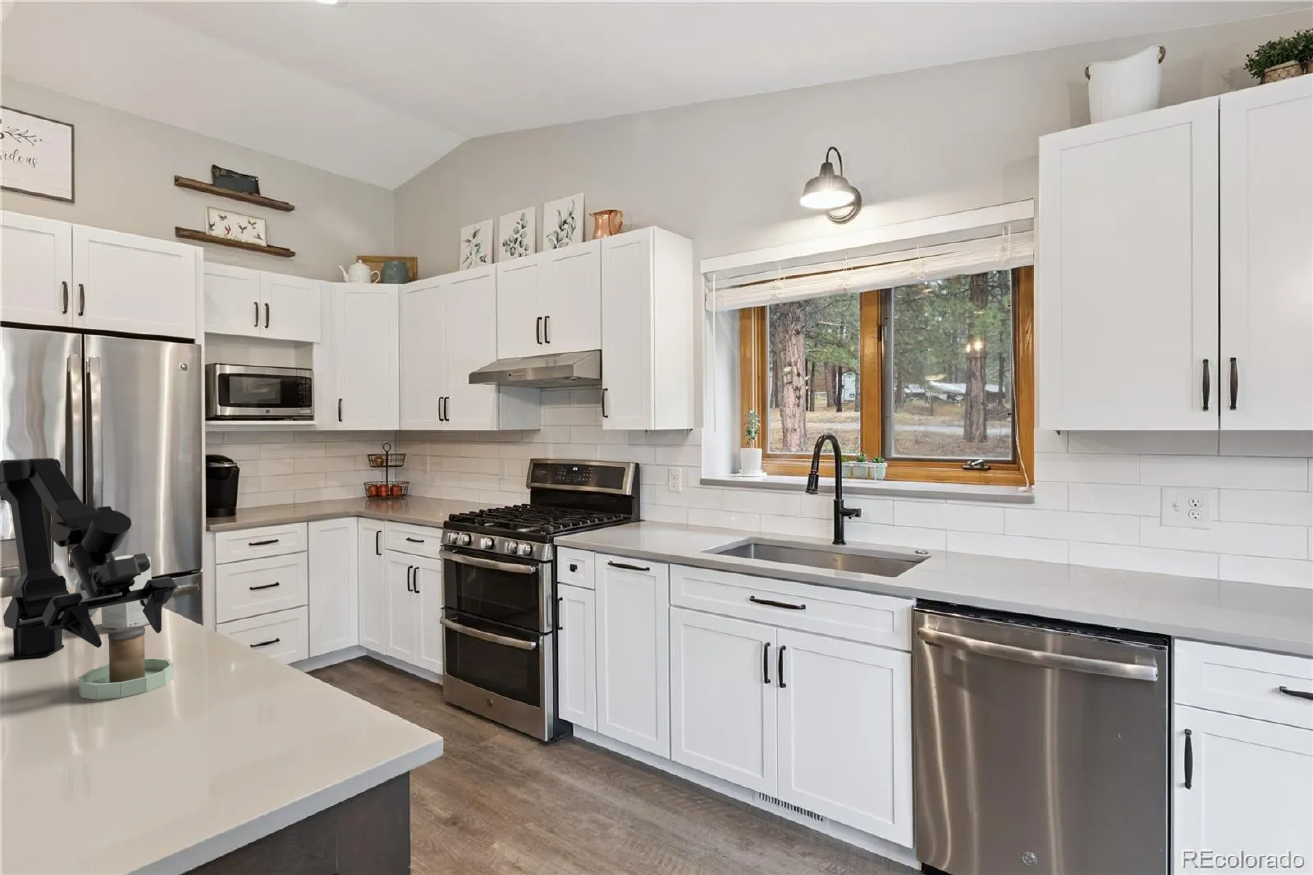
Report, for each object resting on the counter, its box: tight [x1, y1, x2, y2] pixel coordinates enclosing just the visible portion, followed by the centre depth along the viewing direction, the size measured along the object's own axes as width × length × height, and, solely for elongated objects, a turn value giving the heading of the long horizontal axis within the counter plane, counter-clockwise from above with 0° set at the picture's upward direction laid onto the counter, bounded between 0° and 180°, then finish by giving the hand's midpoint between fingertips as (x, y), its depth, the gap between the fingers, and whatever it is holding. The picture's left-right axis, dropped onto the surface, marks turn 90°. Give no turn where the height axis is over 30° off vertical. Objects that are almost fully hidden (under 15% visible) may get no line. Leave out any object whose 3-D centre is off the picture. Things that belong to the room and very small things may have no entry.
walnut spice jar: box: [107, 626, 146, 683], centre depth 124 cm, size 5×5×9 cm
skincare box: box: [100, 554, 152, 630], centre depth 159 cm, size 8×7×16 cm
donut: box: [74, 577, 100, 616], centre depth 168 cm, size 10×4×10 cm, turn 52°
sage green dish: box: [78, 657, 174, 701], centre depth 124 cm, size 13×13×2 cm
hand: (130, 638), depth 123 cm, fingers open, 9 cm apart
